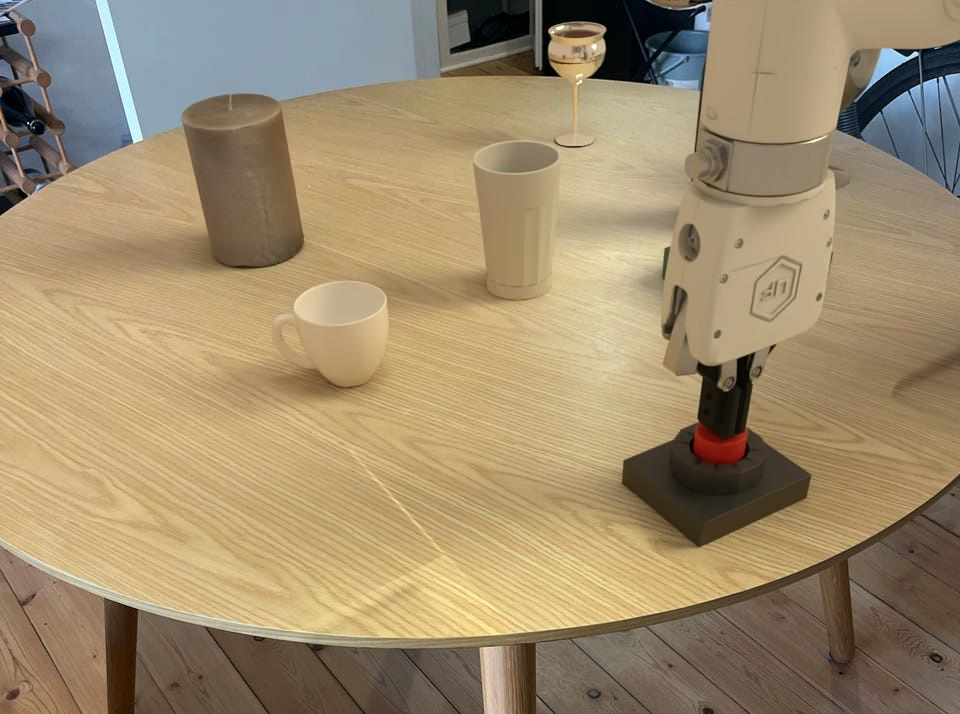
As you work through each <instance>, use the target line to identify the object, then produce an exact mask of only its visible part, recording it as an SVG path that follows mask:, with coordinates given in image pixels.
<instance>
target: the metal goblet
mask: <svg viewBox="0 0 960 714" xmlns="http://www.w3.org/2000/svg"><path fill="white" fill-rule="evenodd" d="M882 50H883V48H881V49H860V50H857V51H856V52H854V53H853V54H852V56H851V57H850V61H849V66H848V71H847V76H846V81H845V86H844V91H843V96H842V101H841V106H840V111H839V116H838V118H839V117H840V116H841V114H843V113H844V111H845V110H847V109H848V108H849V107H850V106H851V105H852V104H853V103H854V102H855V101H856V100H857V99H858V98H859V97H860V96H861V95H862V94H863V93H864V92H865V91H866V90H867V88H868V86H869V85H870V83H871V81H872V78H873V76H874V73H875V71H876V69H877V66H878V63H879V60H880V58H881V54H882ZM828 169H830V170H831V171H832V172H833V173H834V176H835V190H836V189H839V188H842V187H845V186H847V184H849V183H850V181H851V177H850V175H849V173H847V172H846V171H845V170H843V169H841V168H838V167H836V166H832V165H829V167H828Z"/></svg>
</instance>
